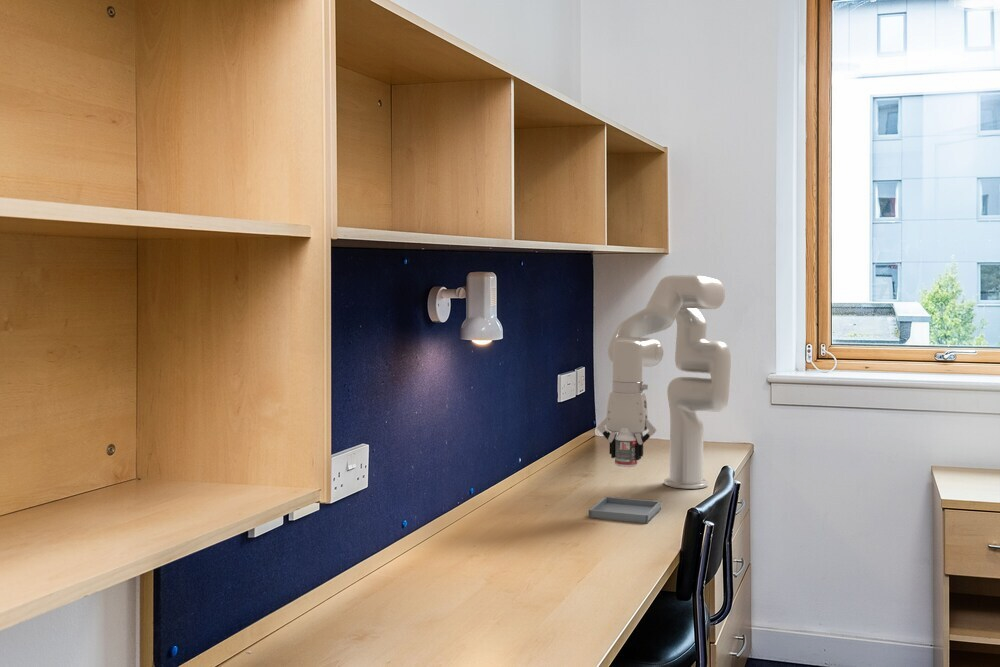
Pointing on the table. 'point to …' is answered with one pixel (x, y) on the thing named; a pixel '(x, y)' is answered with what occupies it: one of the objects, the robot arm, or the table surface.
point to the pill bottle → (625, 448)
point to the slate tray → (625, 509)
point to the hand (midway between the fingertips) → (626, 457)
